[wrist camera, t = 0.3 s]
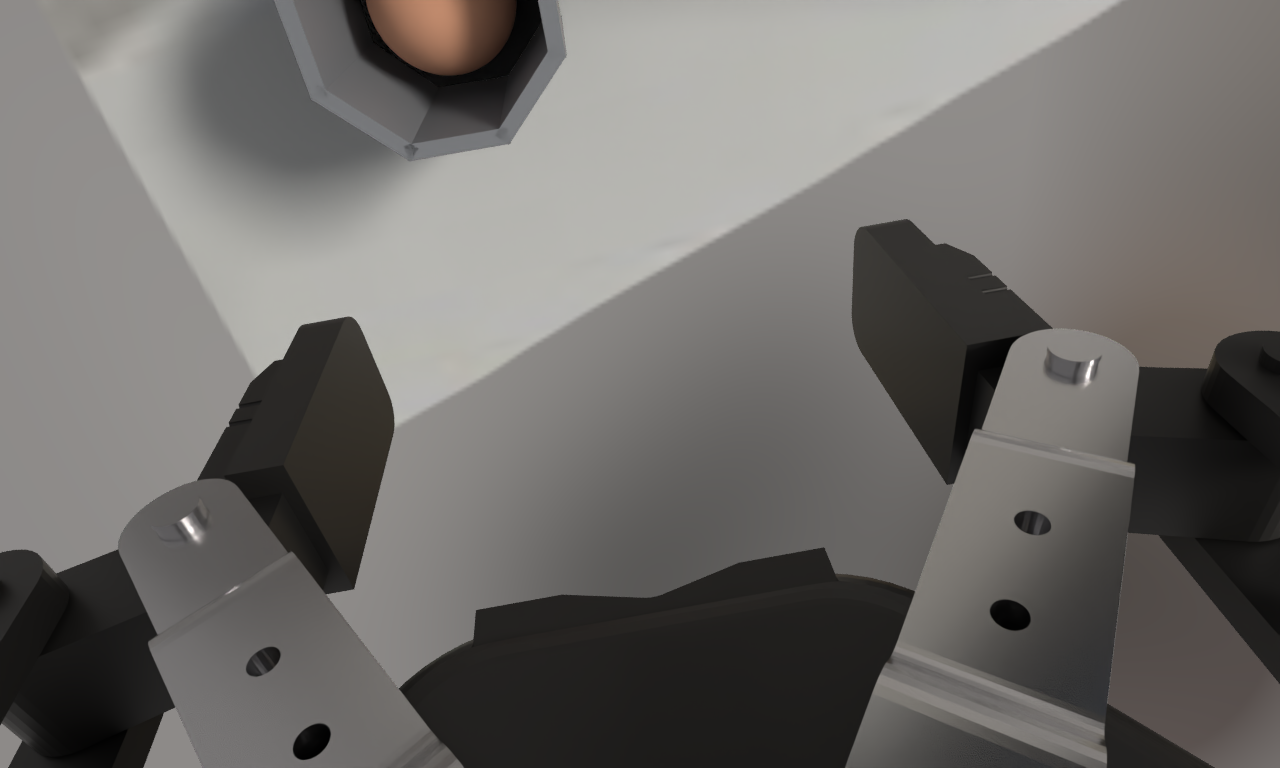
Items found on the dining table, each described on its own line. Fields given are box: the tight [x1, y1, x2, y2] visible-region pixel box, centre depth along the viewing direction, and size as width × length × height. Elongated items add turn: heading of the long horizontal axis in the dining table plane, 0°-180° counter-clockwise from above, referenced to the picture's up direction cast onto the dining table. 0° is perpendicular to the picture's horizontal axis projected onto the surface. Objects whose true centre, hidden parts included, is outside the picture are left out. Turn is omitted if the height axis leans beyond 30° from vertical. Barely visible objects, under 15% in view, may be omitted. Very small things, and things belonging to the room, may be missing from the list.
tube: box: [274, 0, 567, 161], centre depth 29 cm, size 9×9×9 cm
